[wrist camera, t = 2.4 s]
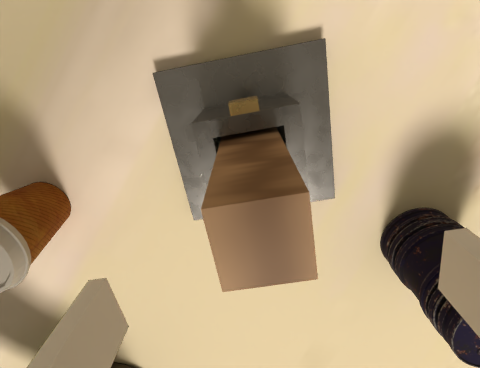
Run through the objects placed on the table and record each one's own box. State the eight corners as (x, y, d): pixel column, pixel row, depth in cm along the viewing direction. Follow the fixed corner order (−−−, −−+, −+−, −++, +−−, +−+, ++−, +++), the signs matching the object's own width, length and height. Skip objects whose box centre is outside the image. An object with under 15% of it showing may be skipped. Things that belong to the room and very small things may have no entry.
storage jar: (411, 194, 37) (511, 273, 23) (469, 225, 39) (594, 314, 25) (364, 251, 41) (427, 349, 27) (419, 277, 42) (505, 381, 28)
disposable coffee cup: (-1, 210, 39) (-98, 270, 28) (24, 155, 36) (-75, 197, 24) (66, 245, 41) (1, 314, 30) (95, 196, 38) (34, 252, 27)
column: (233, 167, 34) (221, 293, 15) (224, 123, 32) (198, 207, 13) (277, 159, 33) (319, 280, 15) (271, 114, 31) (311, 189, 13)
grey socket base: (195, 214, 38) (180, 262, 29) (156, 72, 32) (120, 76, 22) (331, 193, 37) (360, 236, 28) (321, 39, 30) (355, 29, 21)
